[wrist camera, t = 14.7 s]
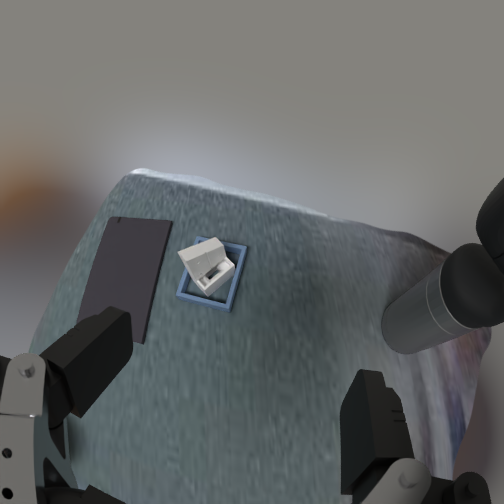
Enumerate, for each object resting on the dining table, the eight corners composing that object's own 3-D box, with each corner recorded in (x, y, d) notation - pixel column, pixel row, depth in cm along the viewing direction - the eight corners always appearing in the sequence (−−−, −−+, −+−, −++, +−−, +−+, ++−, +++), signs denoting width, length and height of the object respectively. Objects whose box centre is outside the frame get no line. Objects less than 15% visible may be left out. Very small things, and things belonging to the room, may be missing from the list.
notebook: (144, 345, 42) (173, 225, 51) (141, 343, 40) (171, 220, 50) (79, 329, 42) (112, 220, 52) (75, 326, 41) (109, 216, 50)
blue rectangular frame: (247, 252, 48) (246, 246, 46) (230, 312, 43) (228, 308, 41) (199, 241, 49) (196, 236, 47) (178, 299, 44) (175, 295, 42)
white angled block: (167, 293, 42) (177, 251, 37) (215, 269, 49) (231, 230, 44) (182, 311, 41) (195, 271, 35) (230, 284, 48) (248, 246, 42)
